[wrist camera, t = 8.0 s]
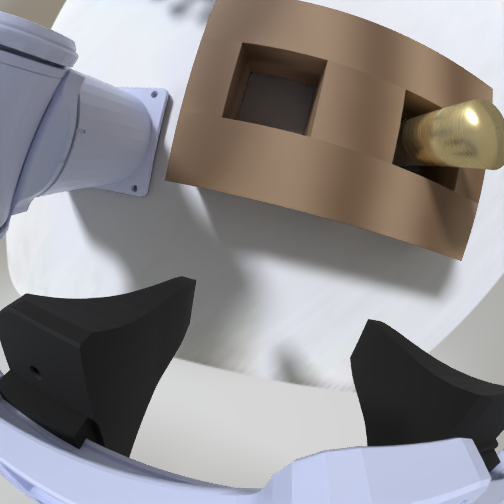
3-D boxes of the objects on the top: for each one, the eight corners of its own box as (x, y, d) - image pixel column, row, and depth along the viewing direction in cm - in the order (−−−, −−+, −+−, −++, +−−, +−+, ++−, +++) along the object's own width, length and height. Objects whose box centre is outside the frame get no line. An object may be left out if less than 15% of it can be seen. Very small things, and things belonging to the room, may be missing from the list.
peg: (376, 157, 17) (460, 153, 8) (383, 118, 17) (466, 86, 7) (411, 170, 17) (505, 180, 8) (418, 133, 16) (511, 118, 7)
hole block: (191, 177, 19) (165, 180, 14) (232, 25, 15) (219, -10, 11) (426, 241, 19) (461, 260, 14) (455, 99, 15) (492, 88, 10)
